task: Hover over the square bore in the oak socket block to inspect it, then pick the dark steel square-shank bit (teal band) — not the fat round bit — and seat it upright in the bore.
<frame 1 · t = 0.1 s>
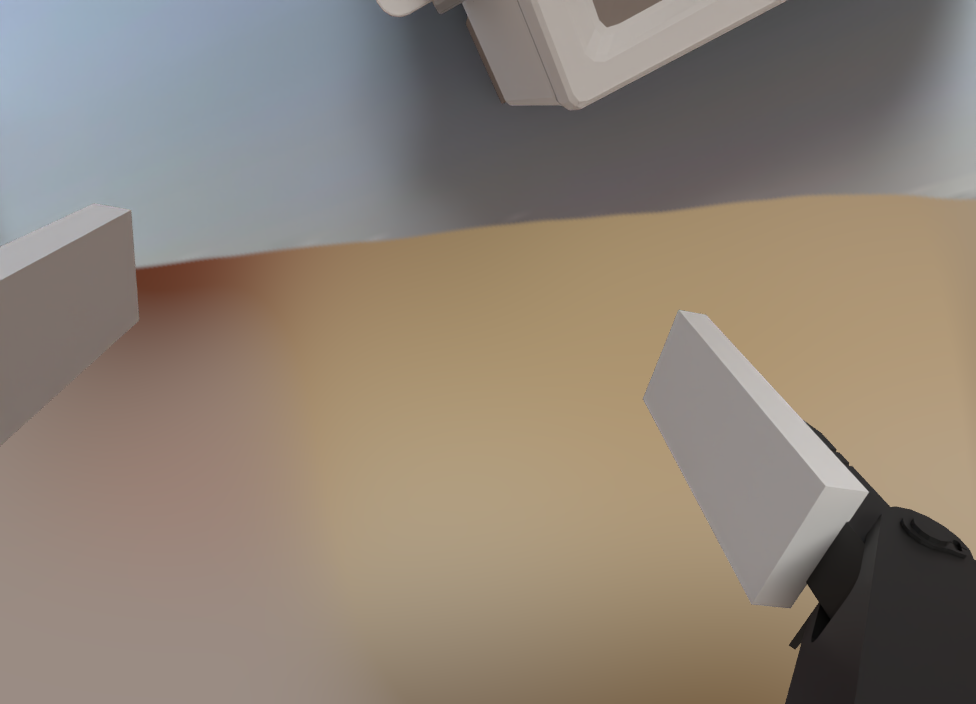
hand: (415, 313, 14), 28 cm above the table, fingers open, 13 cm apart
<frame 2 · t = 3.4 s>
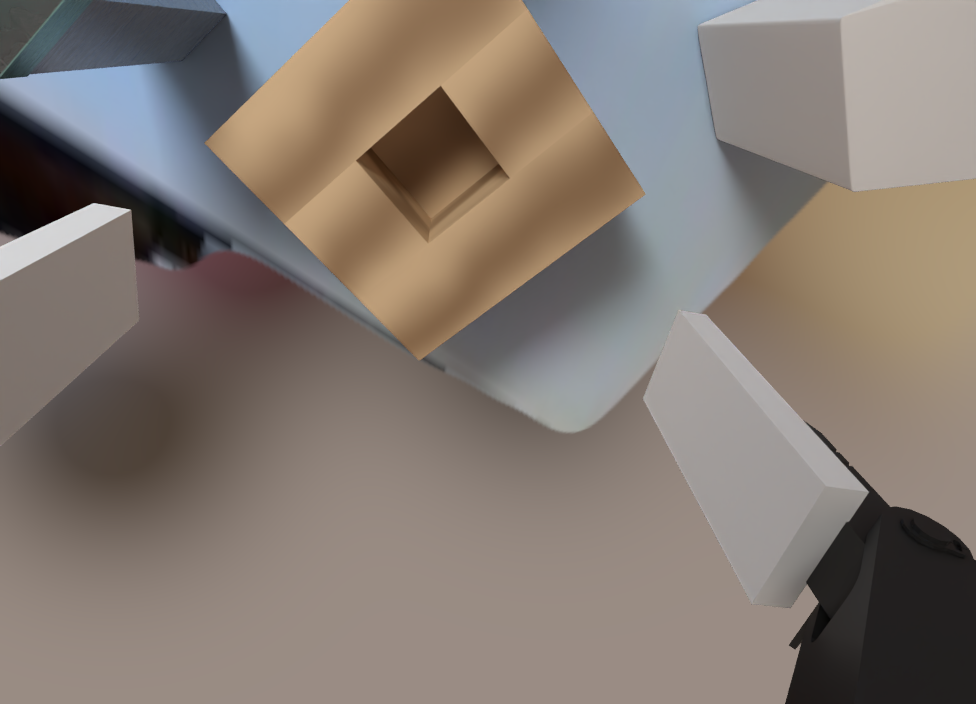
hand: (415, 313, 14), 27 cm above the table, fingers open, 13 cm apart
milk carton: (759, 62, 37), on the table
square bit: (175, 6, 33), on the table
socket block: (437, 141, 38), on the table
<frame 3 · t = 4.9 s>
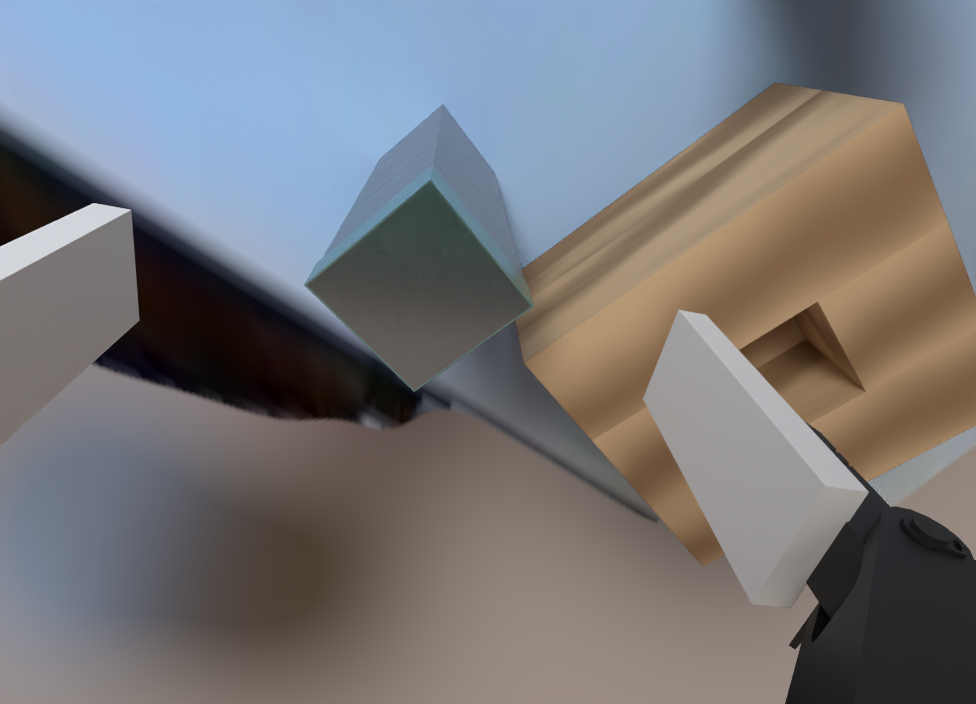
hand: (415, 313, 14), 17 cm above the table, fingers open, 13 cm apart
square bit: (437, 165, 29), on the table
socket block: (703, 300, 33), on the table
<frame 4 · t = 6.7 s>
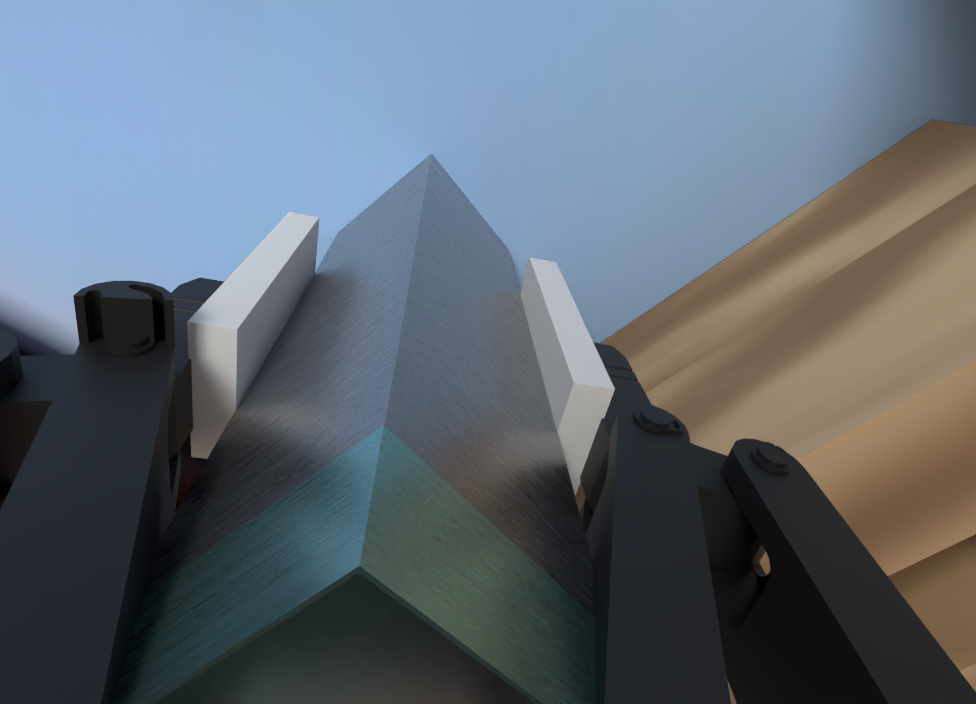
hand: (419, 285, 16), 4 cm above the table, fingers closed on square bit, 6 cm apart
square bit: (424, 241, 19), on the table, touching gripper
socket block: (798, 415, 24), on the table
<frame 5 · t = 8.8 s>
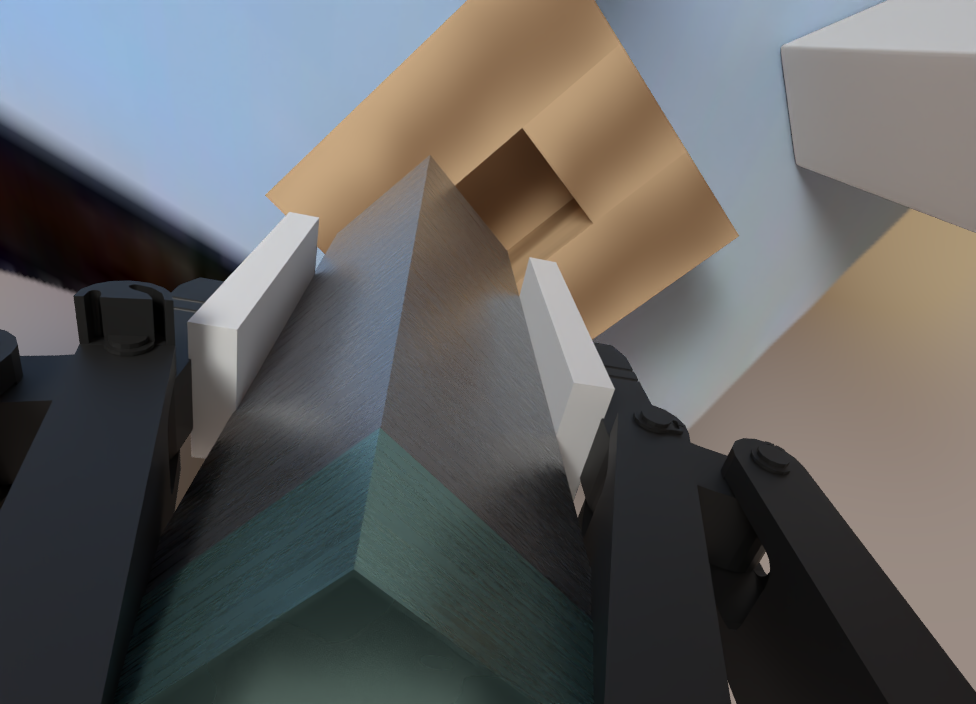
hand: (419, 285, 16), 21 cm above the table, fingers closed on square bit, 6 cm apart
milk carton: (845, 83, 34), on the table
square bit: (423, 242, 19), point 17 cm above the table, touching gripper
socket block: (498, 175, 35), on the table
when the fingers open (11 cm above the table, at t = 10.9 s): square bit drops 3 cm, resting on socket block.
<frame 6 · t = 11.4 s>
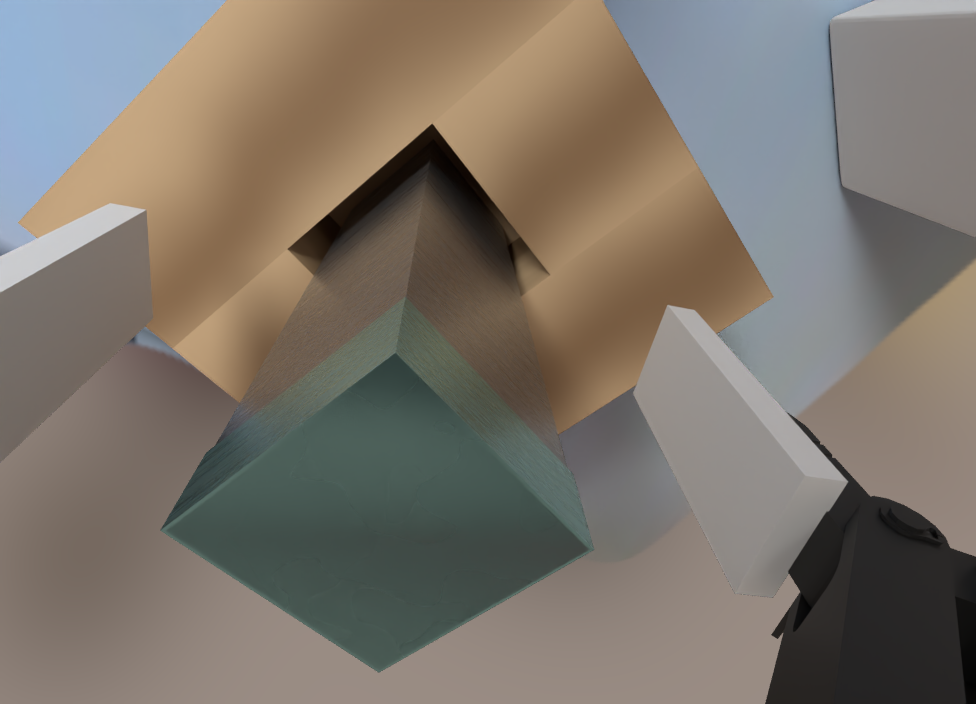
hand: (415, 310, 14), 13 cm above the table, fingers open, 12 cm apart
milk carton: (914, 75, 24), on the table
square bit: (427, 217, 22), point 4 cm above the table, touching socket block
socket block: (431, 192, 25), on the table
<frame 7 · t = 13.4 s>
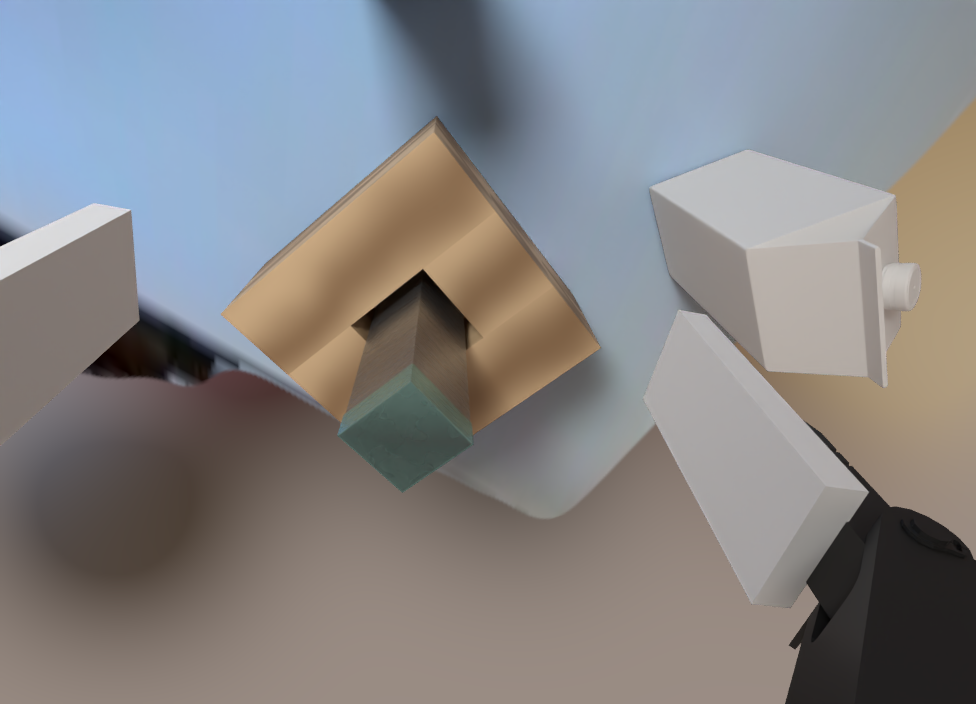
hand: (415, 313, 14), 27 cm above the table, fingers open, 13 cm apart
milk carton: (705, 214, 42), on the table
square bit: (421, 300, 39), point 4 cm above the table, touching socket block
socket block: (423, 280, 43), on the table
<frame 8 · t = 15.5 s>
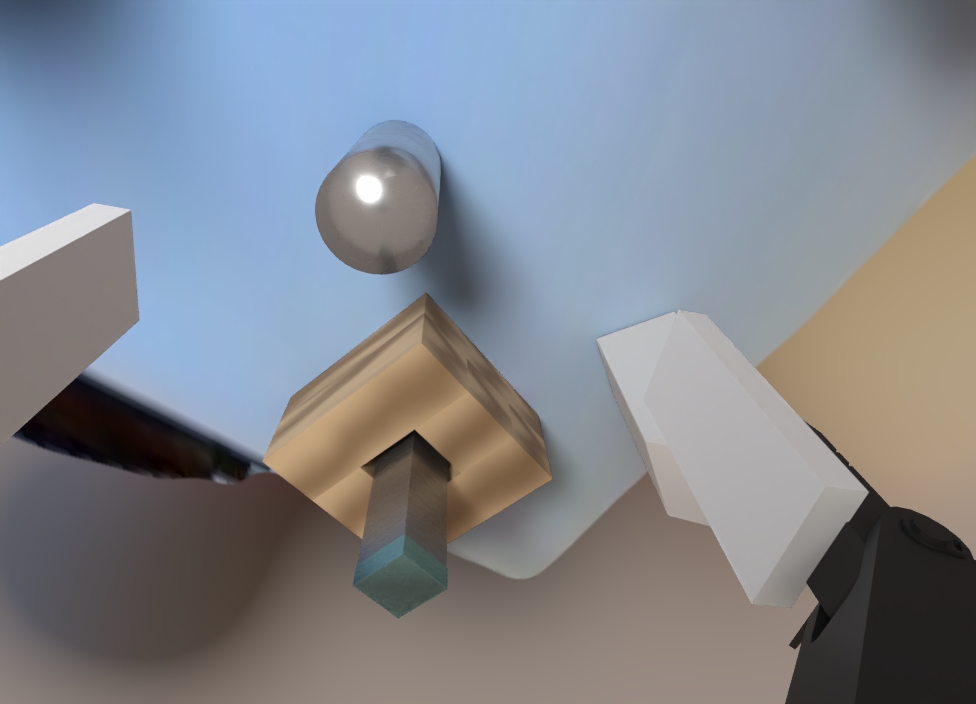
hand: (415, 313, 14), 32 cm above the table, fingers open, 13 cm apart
milk carton: (642, 355, 52), on the table
round bit: (397, 166, 43), on the table
square bit: (414, 432, 50), point 4 cm above the table, touching socket block
socket block: (417, 406, 53), on the table
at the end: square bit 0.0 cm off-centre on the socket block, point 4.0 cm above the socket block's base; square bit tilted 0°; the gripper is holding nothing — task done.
